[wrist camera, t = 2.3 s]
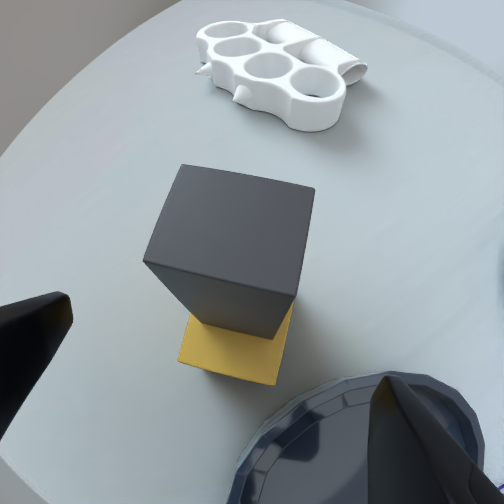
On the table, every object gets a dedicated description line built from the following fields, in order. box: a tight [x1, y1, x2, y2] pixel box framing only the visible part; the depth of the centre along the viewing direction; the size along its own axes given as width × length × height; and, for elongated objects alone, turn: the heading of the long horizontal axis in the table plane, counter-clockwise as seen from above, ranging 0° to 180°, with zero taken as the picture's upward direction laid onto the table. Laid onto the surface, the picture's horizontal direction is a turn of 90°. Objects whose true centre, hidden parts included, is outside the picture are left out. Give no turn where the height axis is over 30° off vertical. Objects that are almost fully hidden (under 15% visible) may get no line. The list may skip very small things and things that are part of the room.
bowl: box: [226, 371, 485, 504], centre depth 12 cm, size 15×15×4 cm
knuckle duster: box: [195, 19, 368, 132], centre depth 26 cm, size 3×18×15 cm
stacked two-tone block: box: [143, 164, 315, 386], centre depth 12 cm, size 6×4×13 cm
